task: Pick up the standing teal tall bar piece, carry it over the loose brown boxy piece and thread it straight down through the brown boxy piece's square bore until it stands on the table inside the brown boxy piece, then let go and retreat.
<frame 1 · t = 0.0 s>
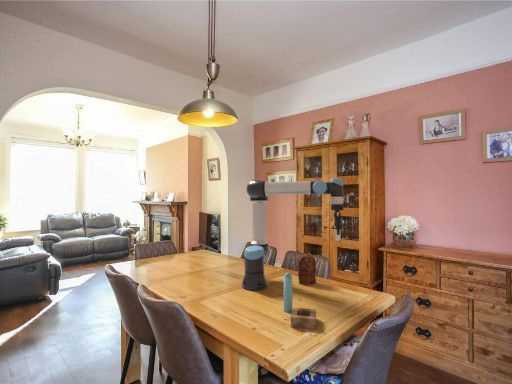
hand: (337, 238, 166), 28 cm above the table, fingers open, 13 cm apart
teal tall bar piece: (288, 310, 128), on the table
wooden figurine: (307, 283, 169), on the table
brown boxy piece: (303, 322, 115), on the table
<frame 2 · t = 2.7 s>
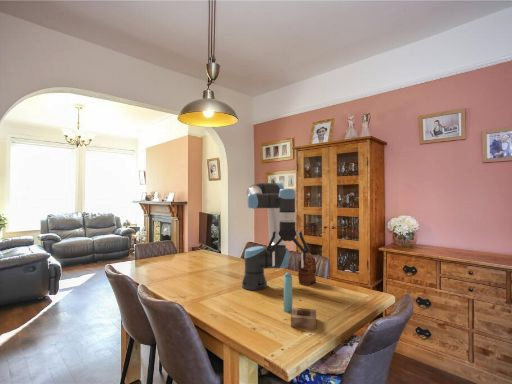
hand: (287, 266, 128), 21 cm above the table, fingers open, 13 cm apart
nothing on the table moved.
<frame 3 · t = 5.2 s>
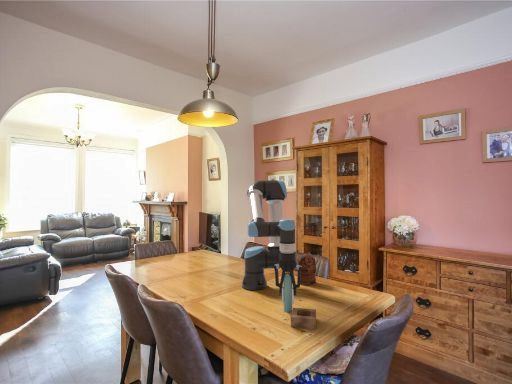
hand: (288, 301, 128), 4 cm above the table, fingers closed on teal tall bar piece, 4 cm apart
teal tall bar piece: (288, 310, 128), on the table, touching gripper
everything else where it was.
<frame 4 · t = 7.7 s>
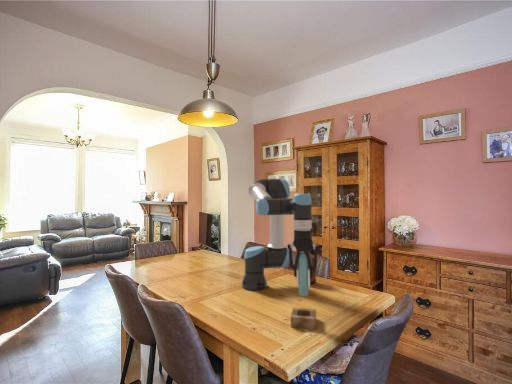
hand: (303, 284, 116), 16 cm above the table, fingers closed on teal tall bar piece, 4 cm apart
teal tall bar piece: (303, 294, 115), point 12 cm above the table, touching gripper
everything else where it was.
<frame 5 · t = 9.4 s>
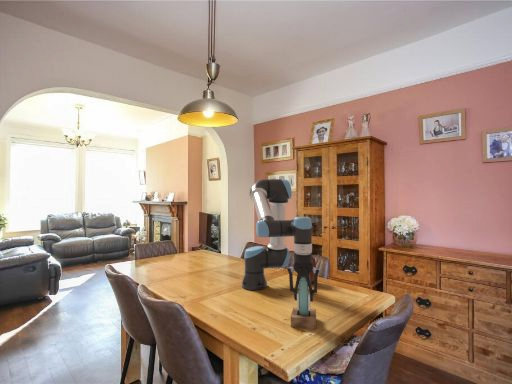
hand: (303, 308, 115), 6 cm above the table, fingers closed on teal tall bar piece, 4 cm apart
teal tall bar piece: (303, 318, 115), point 2 cm above the table, touching gripper
everything else where it was.
when the fingers open (5 cm above the table, at t = 10.4 s): teal tall bar piece drops 1 cm, resting in brown boxy piece.
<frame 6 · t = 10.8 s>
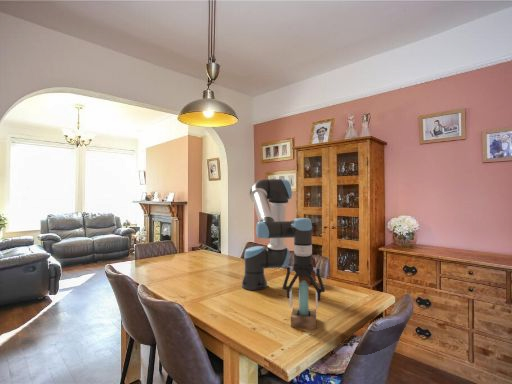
hand: (303, 306, 116), 7 cm above the table, fingers open, 10 cm apart
teal tall bar piece: (303, 322, 115), resting in brown boxy piece
everything else where it was.
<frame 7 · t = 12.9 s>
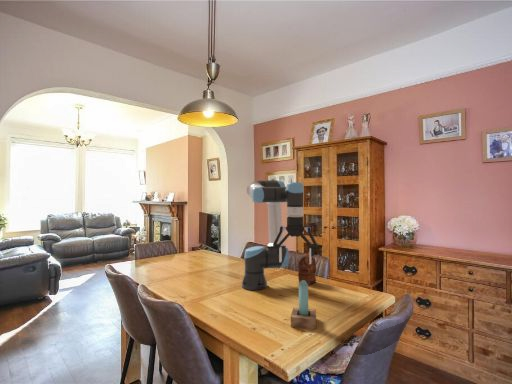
hand: (295, 262, 124), 23 cm above the table, fingers open, 13 cm apart
nothing on the table moved.
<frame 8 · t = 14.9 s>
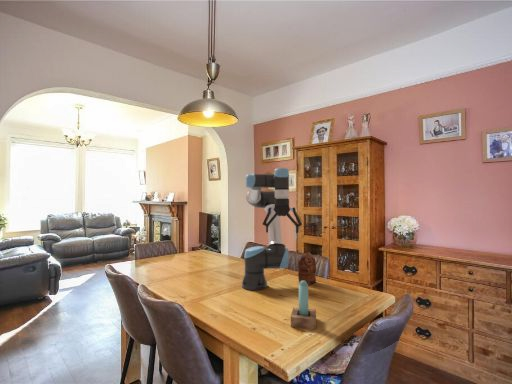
hand: (282, 239, 140), 32 cm above the table, fingers open, 13 cm apart
nothing on the table moved.
at the end: teal tall bar piece 0.1 cm off-centre on the brown boxy piece, point 0.0 cm above the brown boxy piece's base; teal tall bar piece tilted 0°; the gripper is holding nothing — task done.
